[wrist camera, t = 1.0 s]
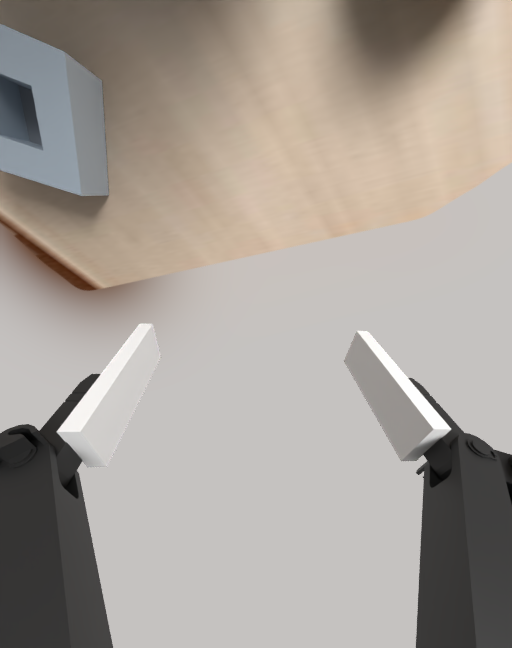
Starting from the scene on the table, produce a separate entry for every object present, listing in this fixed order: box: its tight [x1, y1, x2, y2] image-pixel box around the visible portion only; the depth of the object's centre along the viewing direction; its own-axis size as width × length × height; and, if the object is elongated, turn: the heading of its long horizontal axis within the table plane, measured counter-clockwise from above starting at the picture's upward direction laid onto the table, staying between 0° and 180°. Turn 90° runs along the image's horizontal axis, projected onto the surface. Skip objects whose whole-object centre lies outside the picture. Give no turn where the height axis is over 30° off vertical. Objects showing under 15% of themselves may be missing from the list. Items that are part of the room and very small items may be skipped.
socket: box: [0, 24, 109, 196], centre depth 23 cm, size 12×12×6 cm
